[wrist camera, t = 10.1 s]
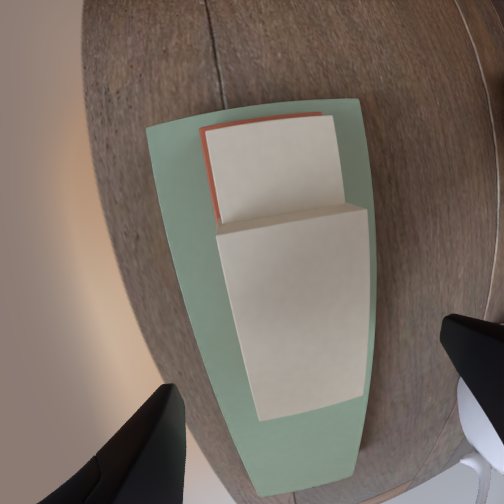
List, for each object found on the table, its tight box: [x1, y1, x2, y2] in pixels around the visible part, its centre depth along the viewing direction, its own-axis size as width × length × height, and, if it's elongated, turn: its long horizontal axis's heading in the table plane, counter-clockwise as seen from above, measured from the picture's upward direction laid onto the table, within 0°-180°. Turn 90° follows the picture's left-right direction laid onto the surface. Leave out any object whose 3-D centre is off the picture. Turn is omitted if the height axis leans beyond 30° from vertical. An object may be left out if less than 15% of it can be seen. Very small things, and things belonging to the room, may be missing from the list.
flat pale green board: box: [146, 99, 377, 497], centre depth 19 cm, size 36×11×3 cm, turn 10°
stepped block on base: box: [199, 112, 370, 421], centre depth 12 cm, size 14×6×5 cm, turn 10°
